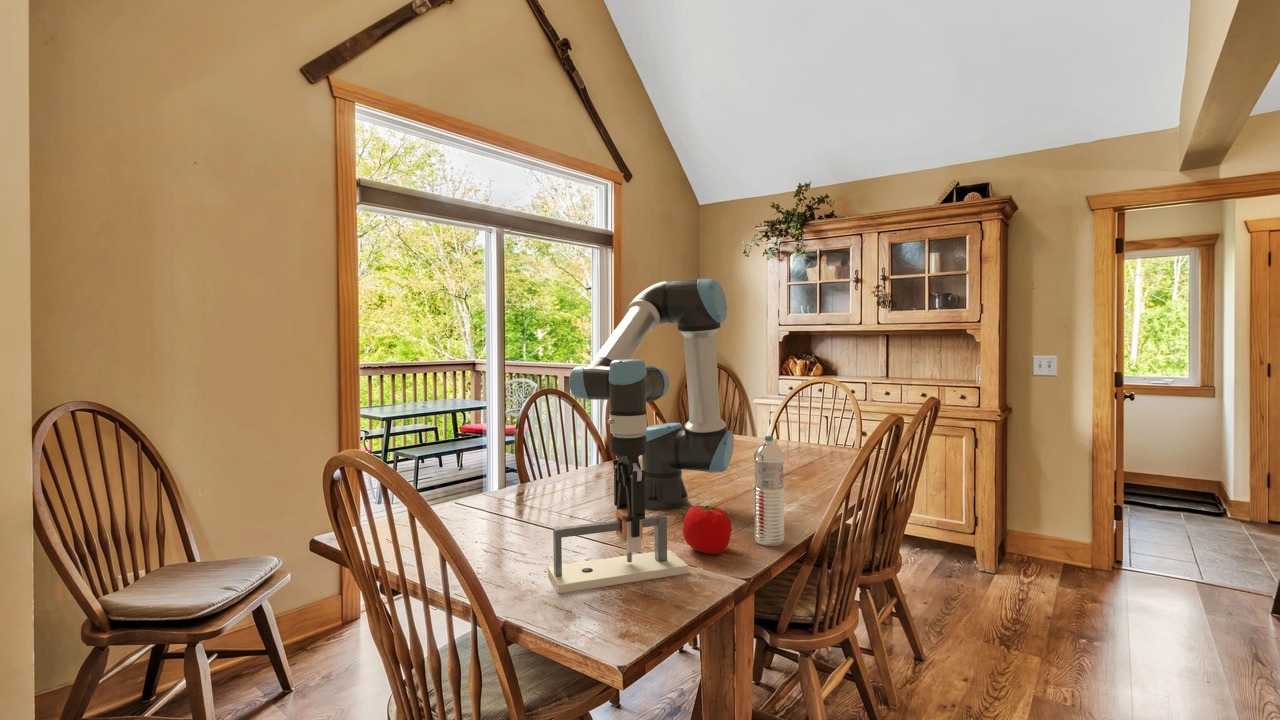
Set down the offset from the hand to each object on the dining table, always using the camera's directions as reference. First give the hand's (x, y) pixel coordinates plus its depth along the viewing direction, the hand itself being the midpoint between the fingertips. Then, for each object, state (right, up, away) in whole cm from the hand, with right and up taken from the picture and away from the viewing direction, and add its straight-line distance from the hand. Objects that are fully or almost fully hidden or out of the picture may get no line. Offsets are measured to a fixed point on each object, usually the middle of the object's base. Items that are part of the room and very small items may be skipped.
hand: (629, 546), depth 124 cm
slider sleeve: (0, -3, 0) cm, 3 cm away
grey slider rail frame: (-3, -4, -1) cm, 5 cm away
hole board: (-2, -5, -1) cm, 6 cm away
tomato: (+18, -5, +13) cm, 22 cm away
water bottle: (+33, -5, +18) cm, 37 cm away
